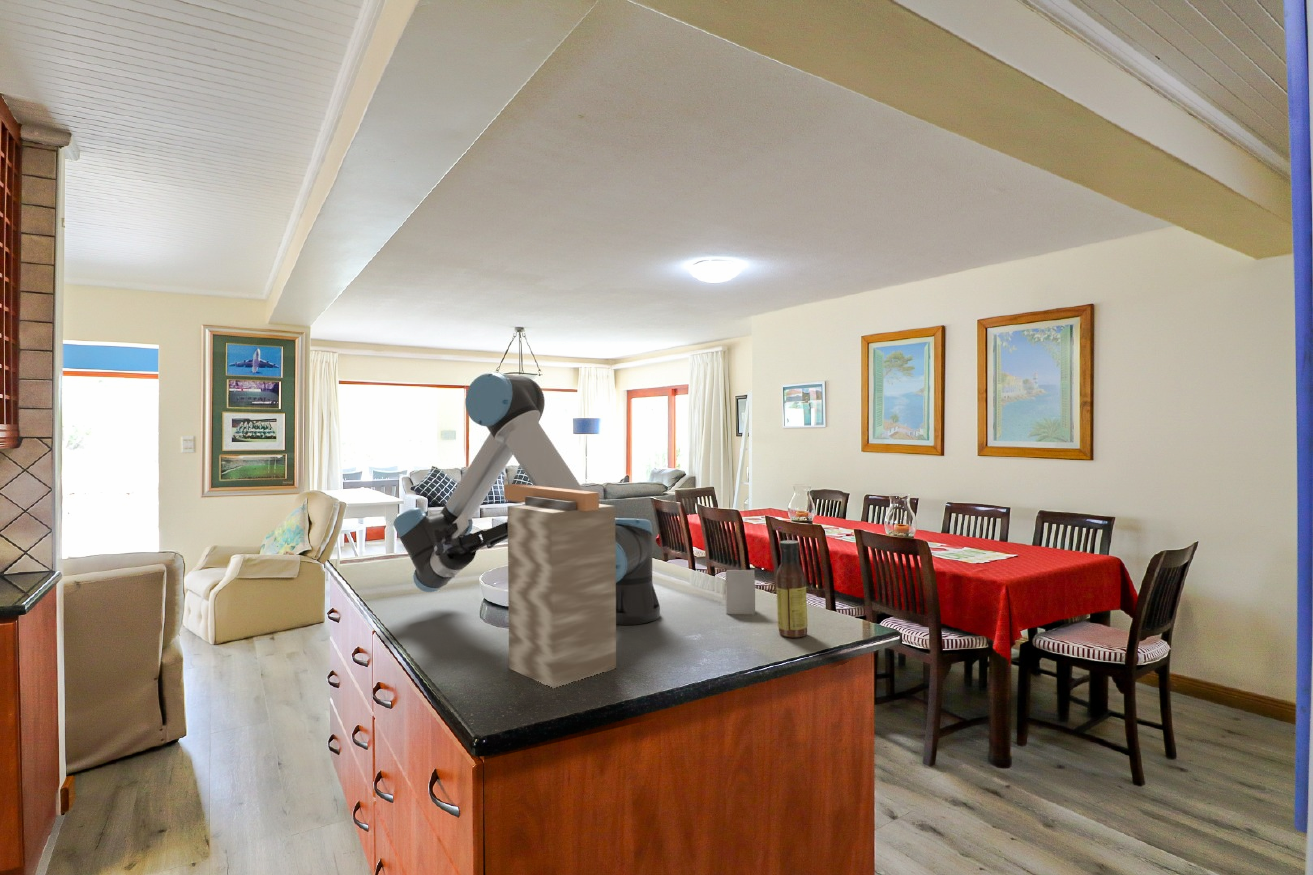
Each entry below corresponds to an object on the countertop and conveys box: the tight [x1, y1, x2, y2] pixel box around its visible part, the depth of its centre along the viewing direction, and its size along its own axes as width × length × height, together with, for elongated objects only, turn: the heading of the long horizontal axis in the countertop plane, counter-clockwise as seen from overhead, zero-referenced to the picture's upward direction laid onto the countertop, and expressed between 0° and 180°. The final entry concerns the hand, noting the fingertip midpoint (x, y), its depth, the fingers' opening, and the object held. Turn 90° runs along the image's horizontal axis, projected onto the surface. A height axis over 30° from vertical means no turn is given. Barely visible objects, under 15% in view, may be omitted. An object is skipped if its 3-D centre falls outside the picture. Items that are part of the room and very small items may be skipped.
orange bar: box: [503, 483, 600, 511], centre depth 130 cm, size 26×3×3 cm, turn 44°
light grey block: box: [725, 569, 756, 615], centre depth 166 cm, size 4×7×10 cm, turn 88°
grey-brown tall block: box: [507, 496, 617, 690], centre depth 128 cm, size 14×14×32 cm
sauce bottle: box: [775, 539, 808, 639], centre depth 148 cm, size 6×6×20 cm
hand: (496, 515), depth 144 cm, fingers open, 13 cm apart
